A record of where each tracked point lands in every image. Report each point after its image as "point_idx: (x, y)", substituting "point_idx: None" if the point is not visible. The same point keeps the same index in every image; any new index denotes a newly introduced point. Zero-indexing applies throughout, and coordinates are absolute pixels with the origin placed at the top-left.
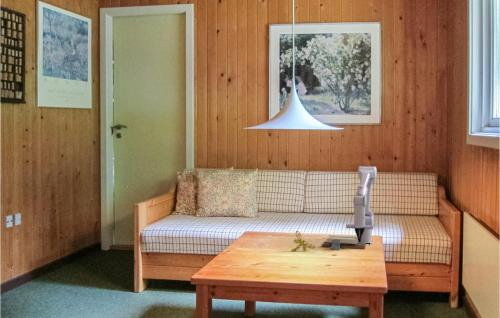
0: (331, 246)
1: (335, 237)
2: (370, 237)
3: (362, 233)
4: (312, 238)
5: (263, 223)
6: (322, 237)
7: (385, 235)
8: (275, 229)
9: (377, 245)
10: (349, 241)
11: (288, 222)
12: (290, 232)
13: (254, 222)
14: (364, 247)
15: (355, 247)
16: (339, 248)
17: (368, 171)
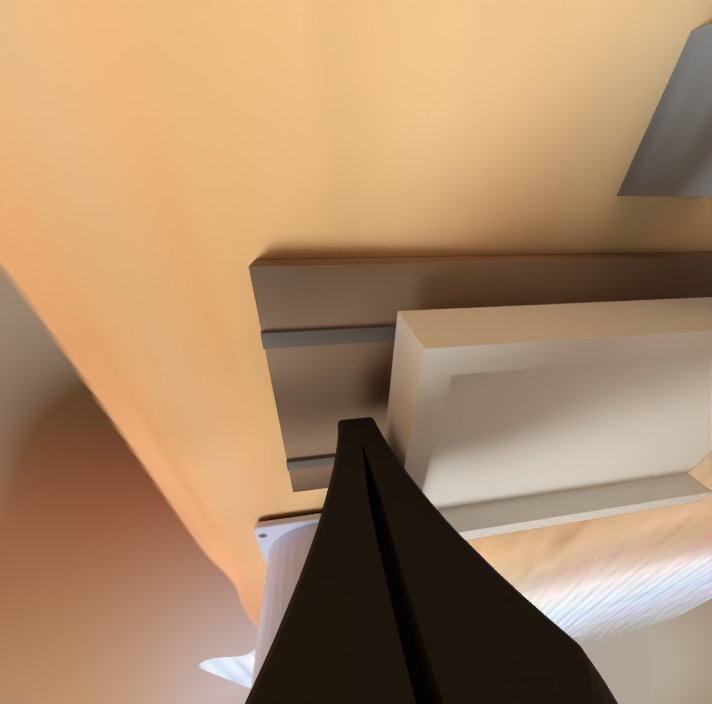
0: (706, 254)
1: (625, 482)
2: (263, 600)
3: (299, 599)
4: (633, 515)
5: (668, 607)
6: (564, 547)
7: (241, 660)
8: (688, 575)
9: (183, 502)
10: (539, 319)
11: (582, 635)
12: (663, 563)
13: (687, 606)
14: (252, 266)
15: (399, 262)
16: (686, 92)
17: None
